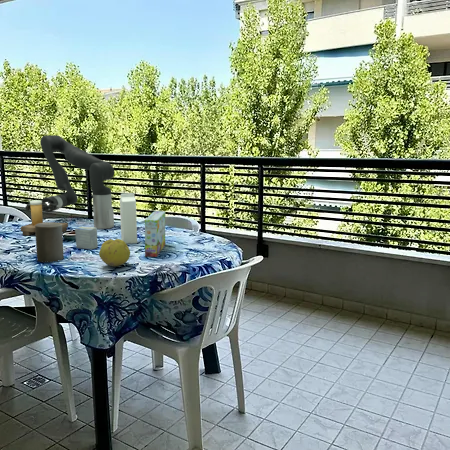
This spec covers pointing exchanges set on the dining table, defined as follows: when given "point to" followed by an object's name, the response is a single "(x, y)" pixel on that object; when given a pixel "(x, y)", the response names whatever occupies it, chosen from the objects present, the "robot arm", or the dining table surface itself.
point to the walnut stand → (30, 228)
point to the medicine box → (86, 237)
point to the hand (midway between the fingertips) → (34, 208)
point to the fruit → (114, 252)
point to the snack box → (154, 233)
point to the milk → (128, 218)
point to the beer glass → (36, 212)
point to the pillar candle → (49, 242)
